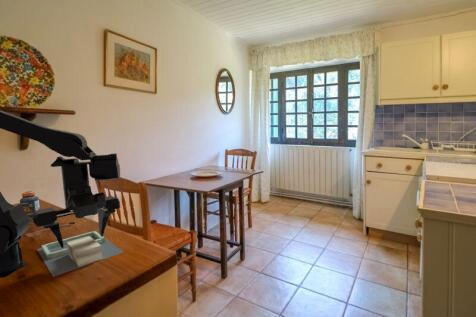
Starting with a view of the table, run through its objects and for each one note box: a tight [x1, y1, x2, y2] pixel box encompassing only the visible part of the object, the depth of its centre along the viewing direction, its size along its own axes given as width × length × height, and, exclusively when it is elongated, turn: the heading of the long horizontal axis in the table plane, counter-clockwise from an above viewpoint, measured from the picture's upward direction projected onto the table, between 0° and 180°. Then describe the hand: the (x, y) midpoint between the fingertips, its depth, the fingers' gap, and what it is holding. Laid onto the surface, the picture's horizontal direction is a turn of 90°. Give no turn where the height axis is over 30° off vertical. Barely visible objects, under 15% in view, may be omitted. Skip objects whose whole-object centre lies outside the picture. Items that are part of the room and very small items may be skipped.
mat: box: [36, 236, 124, 278], centre depth 74 cm, size 22×16×1 cm
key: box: [24, 221, 77, 238], centre depth 94 cm, size 6×1×15 cm
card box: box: [67, 236, 104, 268], centre depth 70 cm, size 10×6×4 cm, turn 44°
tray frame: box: [41, 230, 106, 259], centre depth 78 cm, size 9×14×1 cm, turn 134°
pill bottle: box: [19, 190, 41, 223], centre depth 106 cm, size 6×6×11 cm
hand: (82, 241), depth 70 cm, fingers open, 9 cm apart
